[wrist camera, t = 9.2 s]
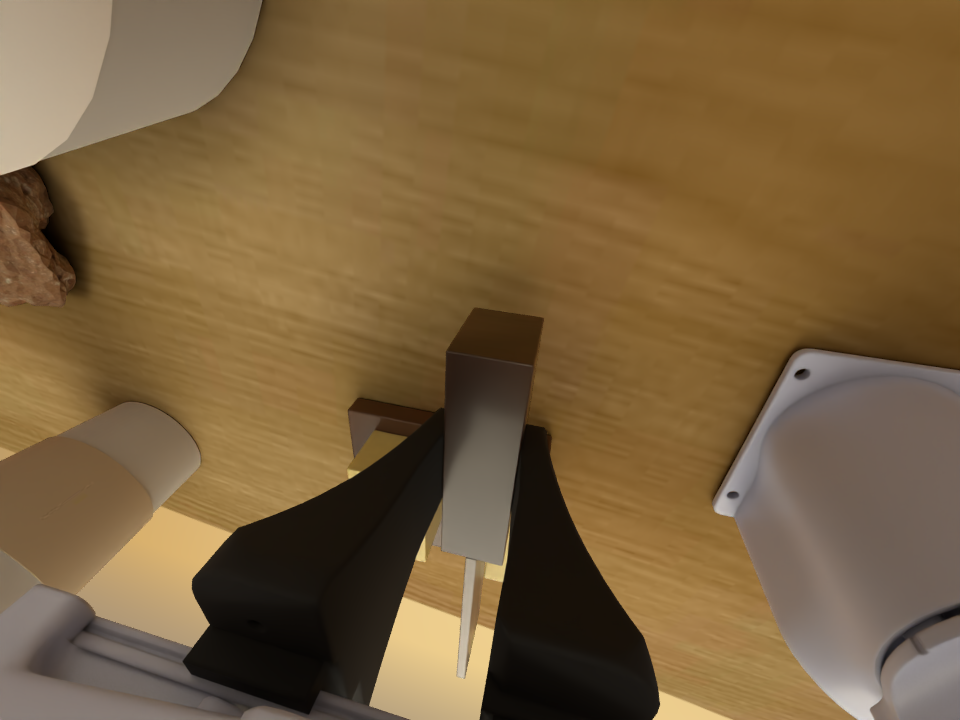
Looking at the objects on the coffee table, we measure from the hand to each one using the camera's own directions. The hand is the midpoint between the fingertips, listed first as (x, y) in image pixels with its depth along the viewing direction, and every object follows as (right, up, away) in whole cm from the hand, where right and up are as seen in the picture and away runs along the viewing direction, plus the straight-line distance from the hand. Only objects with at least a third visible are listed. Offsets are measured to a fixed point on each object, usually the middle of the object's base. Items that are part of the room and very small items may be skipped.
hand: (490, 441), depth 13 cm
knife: (0, -3, +3) cm, 5 cm away
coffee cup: (-24, -3, +16) cm, 29 cm away
